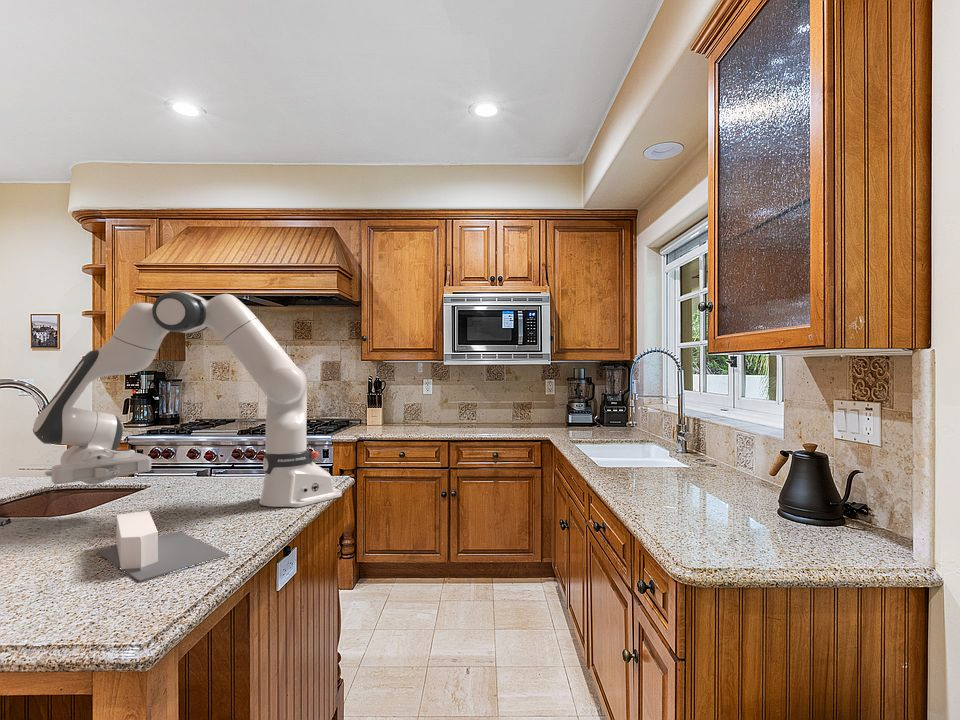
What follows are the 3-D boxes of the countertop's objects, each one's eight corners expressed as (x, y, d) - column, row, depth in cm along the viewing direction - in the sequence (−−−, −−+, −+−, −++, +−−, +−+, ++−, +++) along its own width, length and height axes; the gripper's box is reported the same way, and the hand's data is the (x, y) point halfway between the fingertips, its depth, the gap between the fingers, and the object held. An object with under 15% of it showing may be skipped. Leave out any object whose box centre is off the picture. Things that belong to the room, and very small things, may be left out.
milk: (116, 542, 112) (120, 575, 94) (116, 514, 112) (120, 542, 95) (149, 536, 116) (159, 567, 98) (149, 509, 116) (159, 535, 98)
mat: (96, 552, 107) (96, 550, 107) (179, 532, 119) (179, 531, 119) (139, 582, 92) (139, 580, 92) (229, 556, 105) (229, 554, 105)
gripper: (42, 459, 124) (58, 466, 116) (139, 448, 140) (159, 454, 132) (42, 485, 124) (58, 494, 115) (139, 472, 140) (159, 478, 132)
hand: (113, 472), depth 124 cm, fingers closed
